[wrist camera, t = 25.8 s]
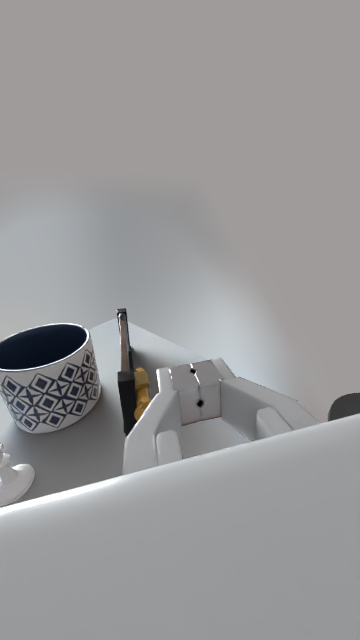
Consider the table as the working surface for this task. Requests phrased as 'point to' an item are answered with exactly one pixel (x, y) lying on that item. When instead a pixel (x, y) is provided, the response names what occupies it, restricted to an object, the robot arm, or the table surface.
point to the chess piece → (13, 479)
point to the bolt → (141, 400)
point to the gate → (124, 343)
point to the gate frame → (130, 387)
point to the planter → (49, 376)
